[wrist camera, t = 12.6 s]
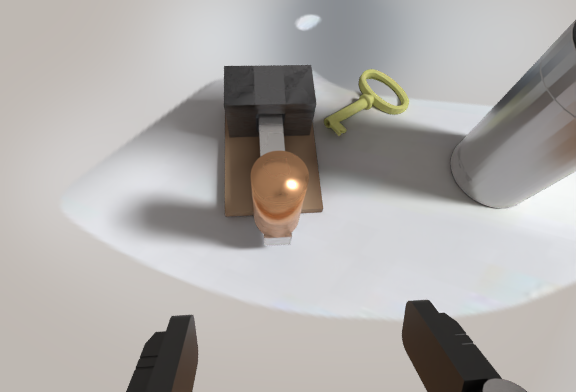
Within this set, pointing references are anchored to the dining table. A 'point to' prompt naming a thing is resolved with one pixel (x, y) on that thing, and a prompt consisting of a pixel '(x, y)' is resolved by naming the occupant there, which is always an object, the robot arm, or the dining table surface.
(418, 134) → the dining table surface
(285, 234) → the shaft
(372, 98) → the key
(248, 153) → the base board
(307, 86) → the block
